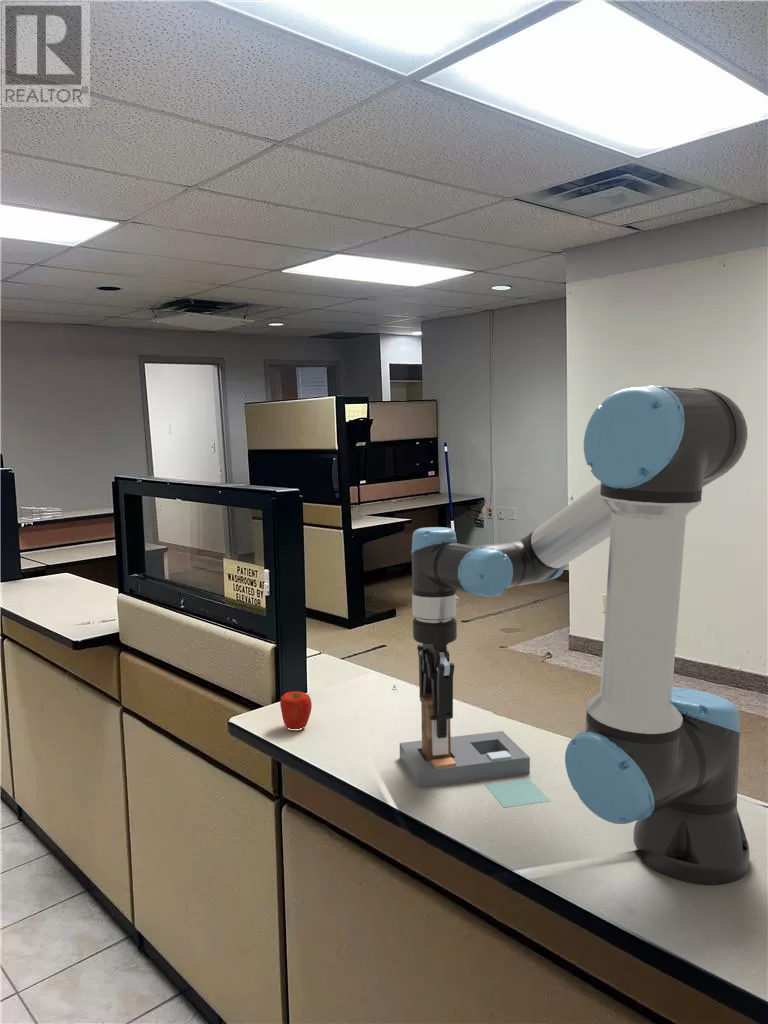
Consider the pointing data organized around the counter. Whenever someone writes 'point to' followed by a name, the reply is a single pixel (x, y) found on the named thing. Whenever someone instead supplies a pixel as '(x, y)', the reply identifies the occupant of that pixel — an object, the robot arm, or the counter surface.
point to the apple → (295, 709)
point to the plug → (430, 729)
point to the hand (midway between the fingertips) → (436, 748)
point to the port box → (466, 760)
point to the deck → (517, 793)
